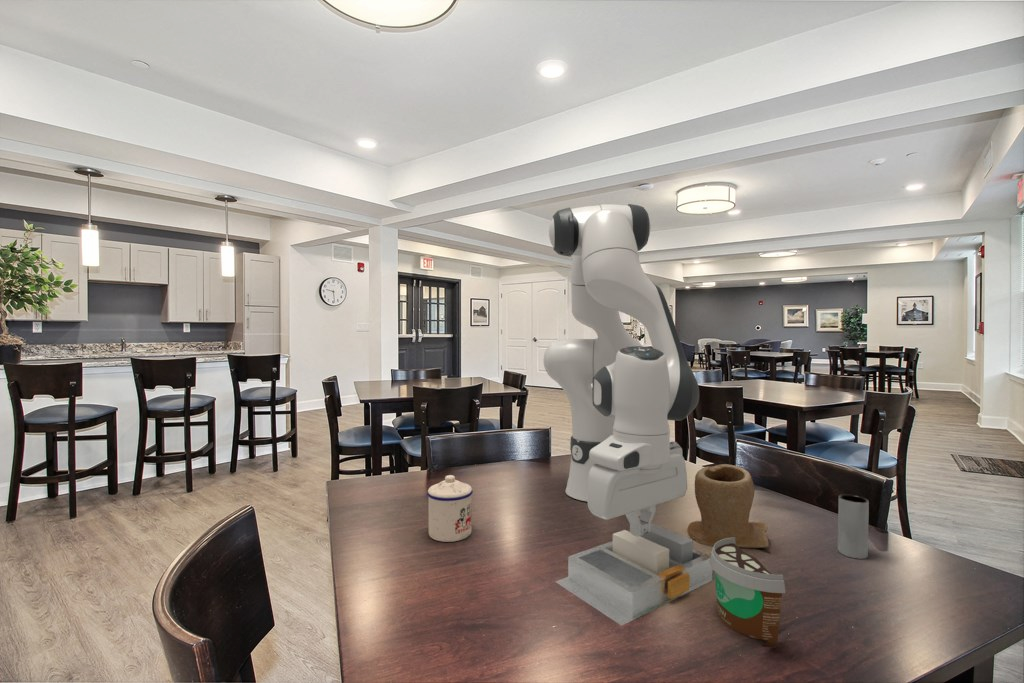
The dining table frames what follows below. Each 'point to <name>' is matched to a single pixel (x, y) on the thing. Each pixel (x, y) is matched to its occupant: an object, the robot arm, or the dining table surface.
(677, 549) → the gray rectangular block
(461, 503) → the teacup with lid
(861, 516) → the grey hollow cylinder
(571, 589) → the rack
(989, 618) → the dining table surface
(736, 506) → the stone cup
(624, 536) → the beige rectangular block
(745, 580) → the food container
